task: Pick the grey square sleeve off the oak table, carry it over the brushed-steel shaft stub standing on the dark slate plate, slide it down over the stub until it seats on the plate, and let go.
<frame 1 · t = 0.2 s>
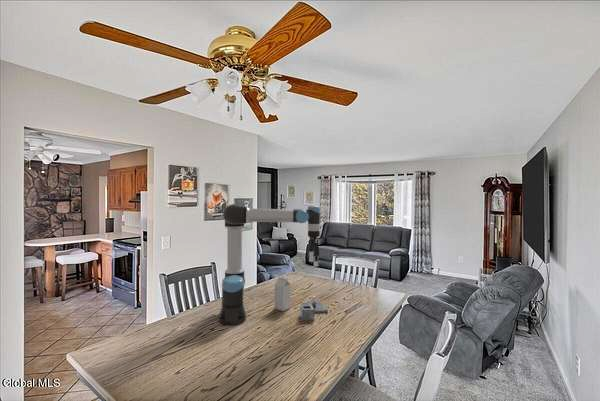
hand: (313, 263, 181), 27 cm above the table, fingers open, 13 cm apart
grey square sleeve: (306, 317, 165), on the table
shaft stand: (314, 308, 179), on the table
milk carton: (282, 308, 179), on the table
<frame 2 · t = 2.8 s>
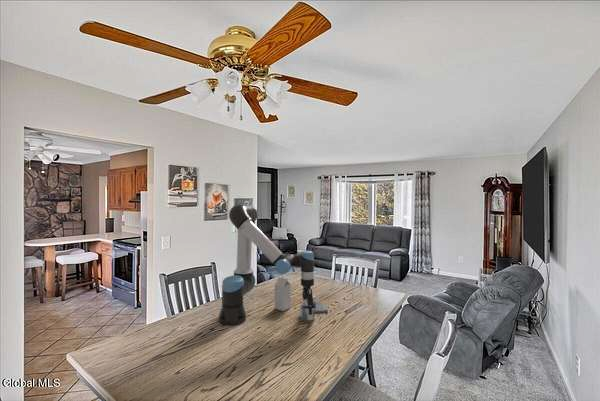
hand: (307, 315, 164), 1 cm above the table, fingers open, 13 cm apart
nothing on the table moved.
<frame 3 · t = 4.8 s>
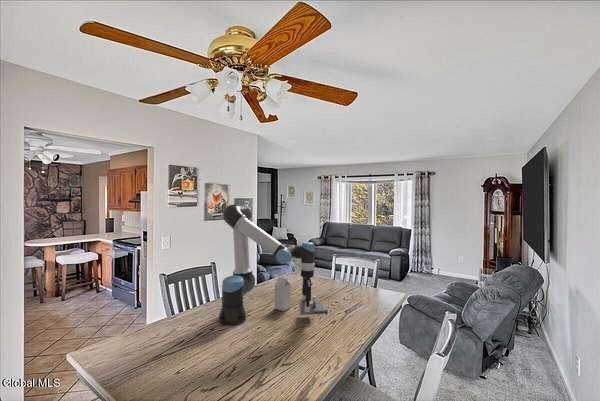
hand: (305, 309, 165), 5 cm above the table, fingers closed on grey square sleeve, 7 cm apart
grey square sleeve: (305, 312, 165), point 3 cm above the table, touching gripper
everything else where it was.
when the fingers open (2 cm above the table, at t = 9.3 s): grey square sleeve stays where it is, resting on shaft stand.
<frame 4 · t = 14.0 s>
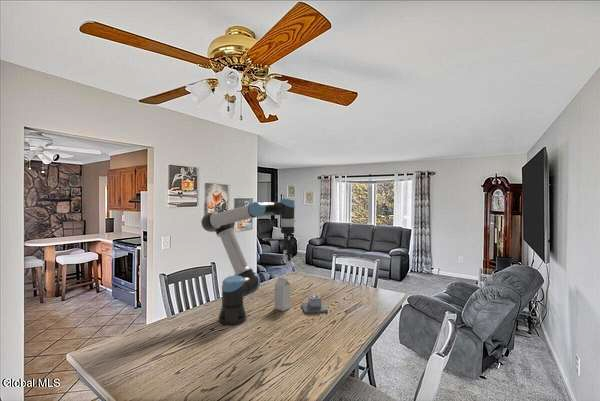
hand: (287, 263, 161), 32 cm above the table, fingers open, 13 cm apart
grey square sleeve: (314, 306, 179), point 1 cm above the table, touching shaft stand
everything else where it was.
at the end: grey square sleeve 0.2 cm off-centre on the shaft stand, point 1.5 cm above the shaft stand's base; grey square sleeve tilted 0°; the gripper is holding nothing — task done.
